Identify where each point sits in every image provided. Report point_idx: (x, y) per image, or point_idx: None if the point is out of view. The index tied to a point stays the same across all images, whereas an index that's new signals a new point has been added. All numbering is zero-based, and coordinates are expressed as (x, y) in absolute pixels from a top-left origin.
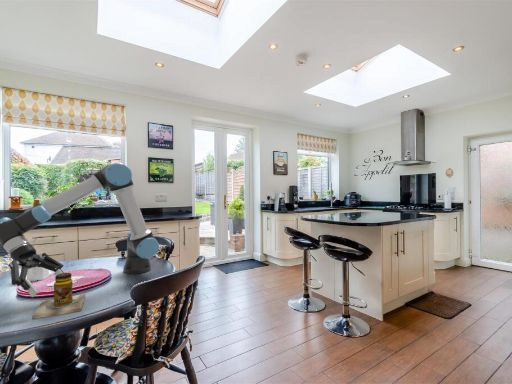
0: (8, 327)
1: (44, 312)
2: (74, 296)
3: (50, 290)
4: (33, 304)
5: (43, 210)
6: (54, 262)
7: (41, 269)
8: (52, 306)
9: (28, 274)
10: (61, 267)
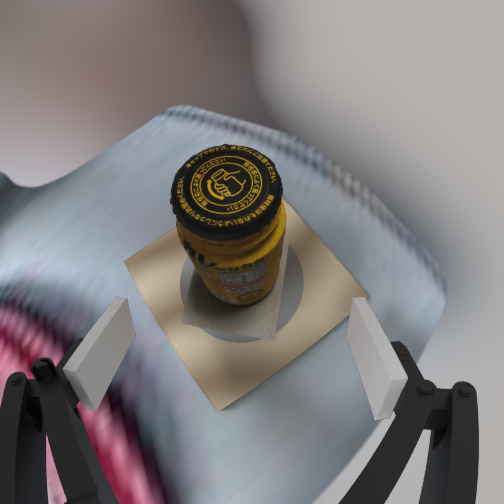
0: (428, 321)
1: (334, 276)
2: (152, 290)
3: None
4: (239, 440)
5: None
6: (19, 433)
7: None
8: (278, 292)
9: None
10: (46, 358)
